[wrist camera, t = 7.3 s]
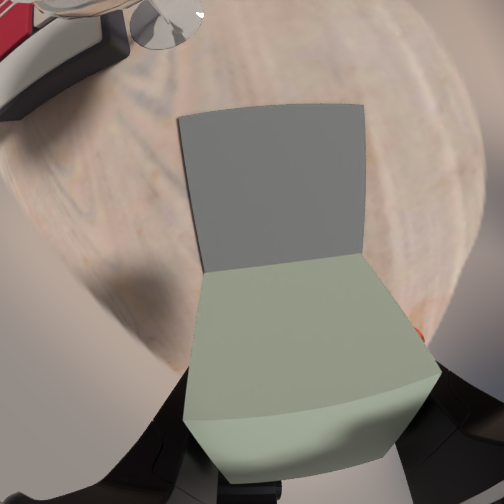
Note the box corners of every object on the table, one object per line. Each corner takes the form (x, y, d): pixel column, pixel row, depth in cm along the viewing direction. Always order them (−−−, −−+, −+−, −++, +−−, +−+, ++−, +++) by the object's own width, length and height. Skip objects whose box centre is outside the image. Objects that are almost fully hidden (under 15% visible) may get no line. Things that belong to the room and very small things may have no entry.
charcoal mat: (360, 262, 21) (361, 264, 21) (207, 281, 21) (207, 282, 21) (362, 104, 16) (363, 104, 16) (178, 117, 16) (178, 117, 16)
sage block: (346, 355, 11) (382, 457, 7) (229, 372, 11) (230, 484, 7) (360, 253, 9) (442, 371, 4) (203, 273, 9) (182, 420, 4)
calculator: (99, -88, 4) (105, 39, 10) (116, -65, 8) (132, 56, 14) (-10, -13, 4) (-17, 126, 10) (15, -4, 8) (18, 122, 14)
